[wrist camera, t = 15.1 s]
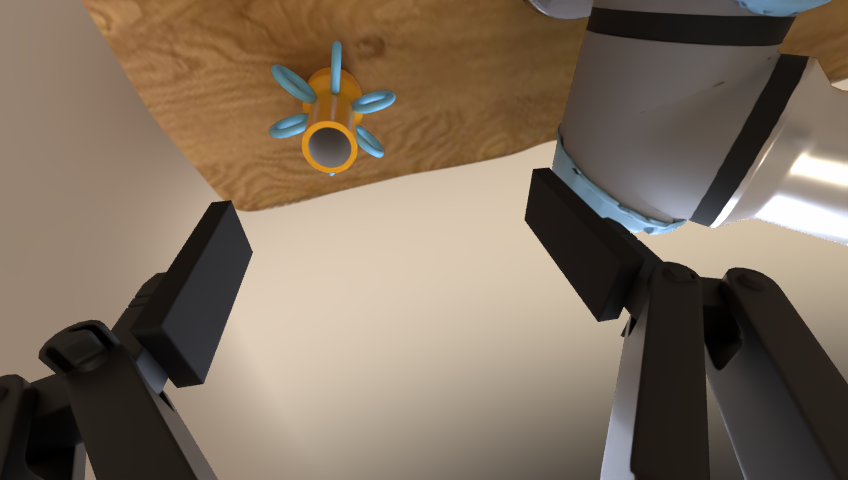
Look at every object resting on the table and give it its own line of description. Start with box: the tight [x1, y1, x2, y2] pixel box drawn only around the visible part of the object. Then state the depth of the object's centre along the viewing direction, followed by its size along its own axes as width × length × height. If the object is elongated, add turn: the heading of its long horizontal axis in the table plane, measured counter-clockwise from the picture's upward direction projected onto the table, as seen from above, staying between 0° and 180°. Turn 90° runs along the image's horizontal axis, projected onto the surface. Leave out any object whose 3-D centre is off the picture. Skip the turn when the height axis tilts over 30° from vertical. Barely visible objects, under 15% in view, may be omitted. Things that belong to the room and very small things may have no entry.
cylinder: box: [269, 41, 395, 176], centre depth 32 cm, size 12×10×15 cm
